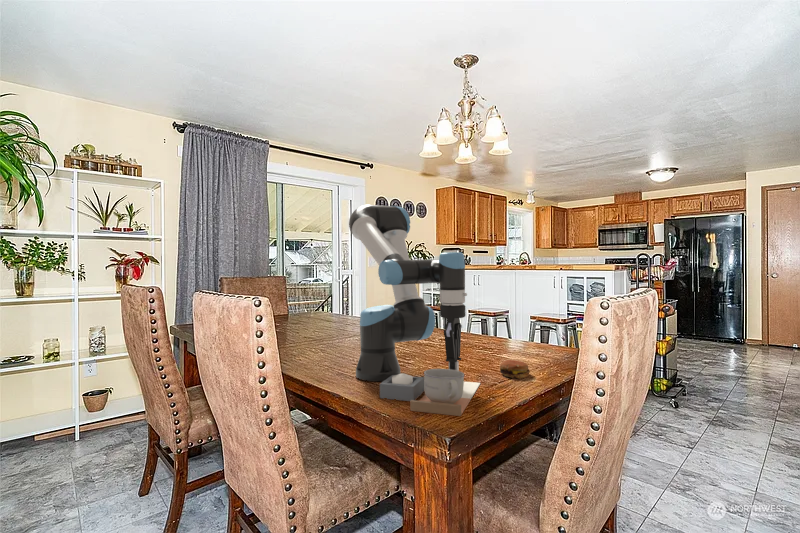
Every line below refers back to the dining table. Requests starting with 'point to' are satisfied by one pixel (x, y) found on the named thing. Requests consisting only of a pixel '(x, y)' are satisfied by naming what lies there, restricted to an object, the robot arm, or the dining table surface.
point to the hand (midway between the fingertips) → (453, 382)
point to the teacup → (443, 385)
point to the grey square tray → (402, 389)
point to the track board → (444, 408)
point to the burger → (514, 369)
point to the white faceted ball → (402, 379)
